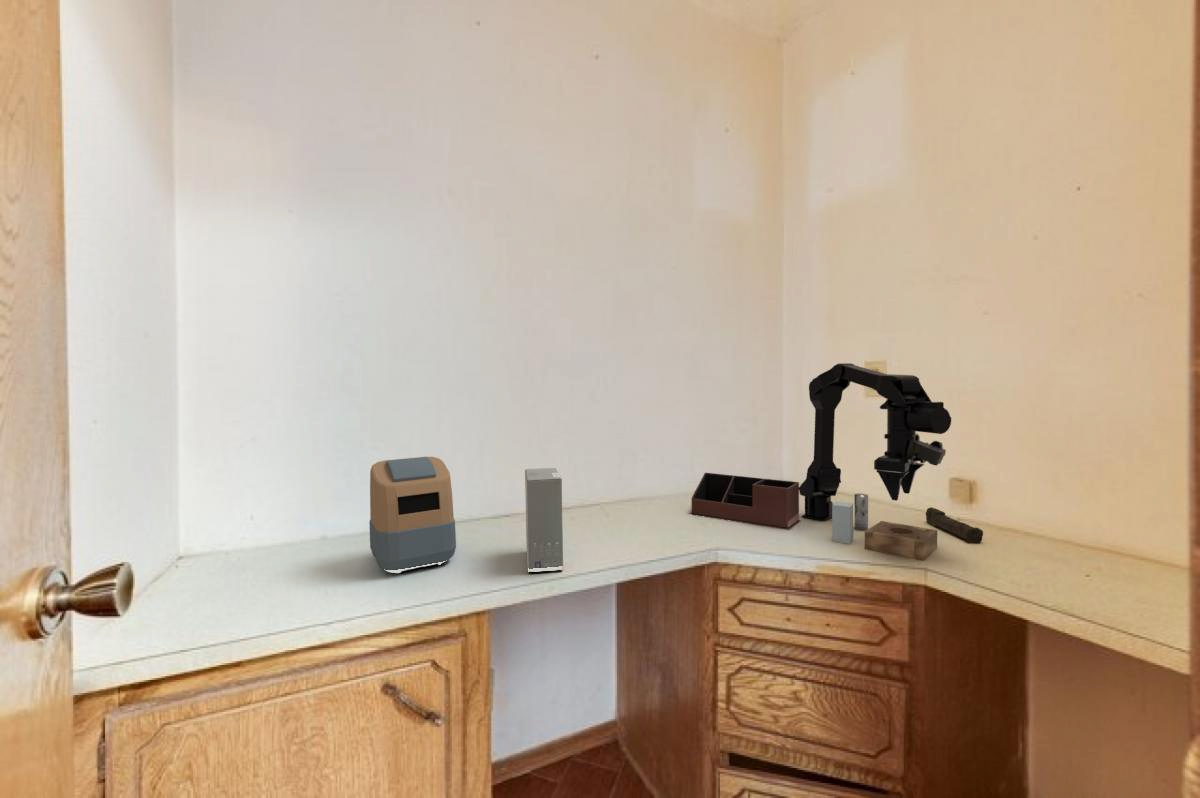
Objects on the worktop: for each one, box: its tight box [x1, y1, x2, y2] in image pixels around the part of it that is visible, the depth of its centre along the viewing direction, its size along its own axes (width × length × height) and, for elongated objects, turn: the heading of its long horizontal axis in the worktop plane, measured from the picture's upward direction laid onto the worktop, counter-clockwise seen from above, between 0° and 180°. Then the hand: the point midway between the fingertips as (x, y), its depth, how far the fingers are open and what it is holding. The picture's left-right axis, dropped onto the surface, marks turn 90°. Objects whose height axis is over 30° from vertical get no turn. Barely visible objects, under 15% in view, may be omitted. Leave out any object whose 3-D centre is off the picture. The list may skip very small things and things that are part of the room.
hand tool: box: [925, 507, 984, 544], centre depth 134 cm, size 19×4×5 cm, turn 177°
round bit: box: [853, 492, 869, 532], centre depth 138 cm, size 3×3×9 cm
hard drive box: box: [524, 467, 564, 569], centre depth 118 cm, size 16×8×20 cm, turn 9°
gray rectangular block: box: [831, 501, 854, 545], centre depth 129 cm, size 4×4×9 cm
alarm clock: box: [369, 456, 457, 570], centre depth 119 cm, size 17×17×23 cm
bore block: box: [864, 520, 938, 561], centre depth 123 cm, size 12×12×4 cm
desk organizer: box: [689, 472, 802, 531], centre depth 151 cm, size 10×29×11 cm, turn 53°
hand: (900, 496), depth 122 cm, fingers open, 9 cm apart
